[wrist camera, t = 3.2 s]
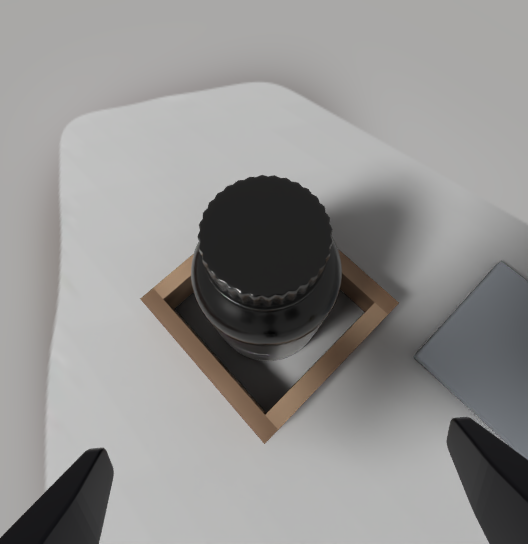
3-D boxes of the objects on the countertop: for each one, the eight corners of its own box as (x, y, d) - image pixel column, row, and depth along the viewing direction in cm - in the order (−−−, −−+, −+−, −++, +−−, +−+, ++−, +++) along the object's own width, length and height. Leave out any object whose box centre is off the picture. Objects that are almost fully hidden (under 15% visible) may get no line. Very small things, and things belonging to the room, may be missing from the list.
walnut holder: (265, 438, 21) (264, 443, 19) (153, 308, 24) (140, 298, 21) (386, 312, 23) (399, 303, 21) (270, 207, 26) (270, 189, 24)
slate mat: (541, 475, 20) (548, 477, 19) (413, 356, 22) (416, 356, 22) (623, 361, 22) (631, 360, 21) (497, 263, 24) (501, 261, 24)
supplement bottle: (226, 372, 22) (174, 348, 11) (210, 273, 25) (154, 167, 13) (331, 351, 23) (388, 304, 11) (306, 254, 25) (332, 134, 14)
